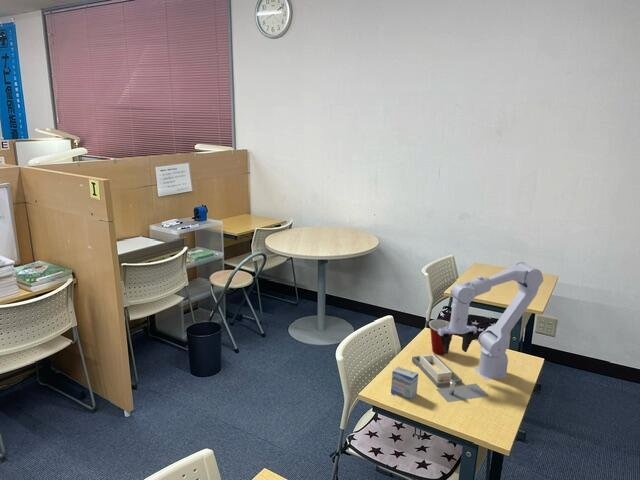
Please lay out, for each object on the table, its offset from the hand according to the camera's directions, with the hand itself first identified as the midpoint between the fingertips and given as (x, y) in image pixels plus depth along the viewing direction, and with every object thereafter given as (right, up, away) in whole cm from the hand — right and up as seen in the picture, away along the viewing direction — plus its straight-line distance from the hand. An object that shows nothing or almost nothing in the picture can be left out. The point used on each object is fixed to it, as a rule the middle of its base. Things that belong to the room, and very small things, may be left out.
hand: (454, 351), depth 171 cm
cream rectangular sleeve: (-6, -9, +6) cm, 12 cm away
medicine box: (-20, -13, -9) cm, 26 cm away
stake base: (0, -13, -8) cm, 15 cm away
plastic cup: (0, -5, +22) cm, 22 cm away
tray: (-6, -9, +6) cm, 12 cm away
